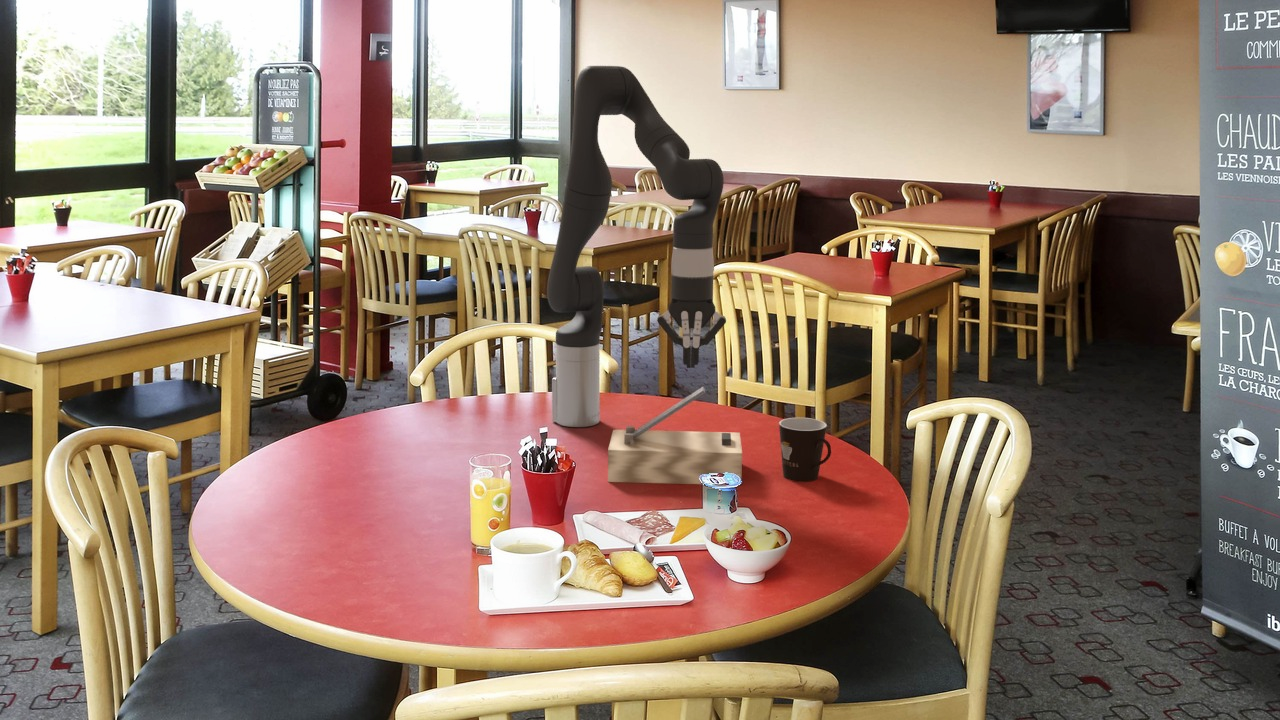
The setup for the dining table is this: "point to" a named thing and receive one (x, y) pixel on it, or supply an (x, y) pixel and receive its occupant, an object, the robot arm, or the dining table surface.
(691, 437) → the tea crate
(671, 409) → the strap
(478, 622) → the dining table surface
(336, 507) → the dining table surface
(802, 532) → the dining table surface
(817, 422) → the coffee mug
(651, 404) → the dining table surface
